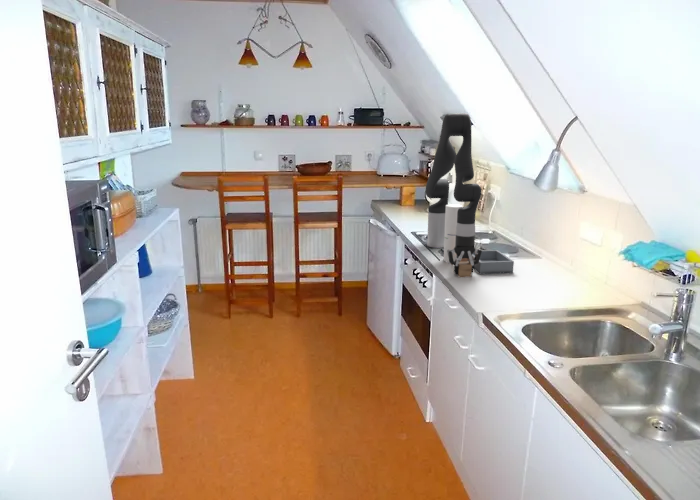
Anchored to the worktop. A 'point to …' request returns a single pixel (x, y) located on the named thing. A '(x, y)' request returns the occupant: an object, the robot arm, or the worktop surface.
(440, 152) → the robot arm
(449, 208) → the cylindrical container
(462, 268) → the walnut cube
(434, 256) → the worktop surface
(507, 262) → the grey tote
